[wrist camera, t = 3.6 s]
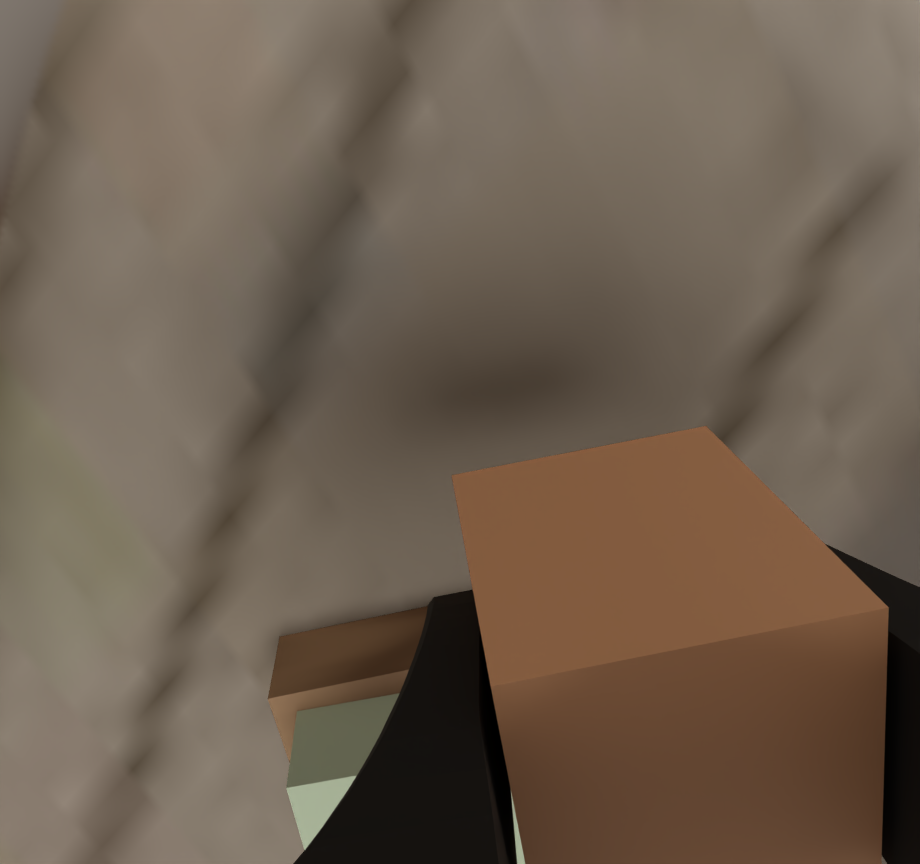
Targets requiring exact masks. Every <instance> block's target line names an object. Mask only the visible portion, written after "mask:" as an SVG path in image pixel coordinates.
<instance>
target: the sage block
mask: <svg viewBox="0 0 920 864" xmlns="http://www.w3.org/2000/svg"><path fill="white" fill-rule="evenodd" d="M398 696H399V693H398V694H392V695H387V696H381V697H375V698H370V699H364V700H358V701H353V702H347V703H341V704H336V705H330V706H324V707H319V708H313V709H307V710H302V711H297V715H296V722H295V729H294V736H293V744H292V751H291V758H290V765H289V773H288V780H287V787H286V789H287V792H288V795H289V799H290V802H291V806H292V809H293V812H294V816H295V819H296V823H297V826H298V830H299V833H300V836H301V840H302V843H303V847H304V850H305V849H306V848H307V847H308V845H309V844H310V843H311V841H312V840H313V839H314V837H315V836H316V835H317V833H318V832H319V831H320V829H321V828H322V827H323V825H324V824H325V822H326V821H327V820H328V818H329V817H330V815H331V814H332V812H333V811H334V809H335V808H336V807H337V805H338V804H339V802H340V801H341V799H342V798H343V796H344V795H345V794H346V792H347V790H348V789H349V787H350V786H351V784H352V782H353V781H354V779H355V778H356V776H357V774H358V773H359V771H360V769H361V768H362V766H363V764H364V763H365V761H366V759H367V758H368V756H369V754H370V752H371V750H372V749H373V747H374V745H375V743H376V741H377V739H378V737H379V735H380V734H381V731H382V729H383V727H384V725H385V723H386V721H387V719H388V717H389V715H390V713H391V711H392V708H393V706H394V704H395V702H396V700H397V698H398ZM511 797H512V793H511ZM512 809H513V820H514V832H515V843H516V855H517V864H525V860H524V855H523V849H522V844H521V839H520V834H519V829H518V824H517V819H516V814H515V808H514V803H513V798H512Z"/></svg>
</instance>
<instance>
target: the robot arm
mask: <svg viewBox="0 0 920 864" xmlns="http://www.w3.org/2000/svg"><path fill="white" fill-rule="evenodd" d="M825 545H826V544H825ZM826 546H827V547H828V548H829V549H830V550H831V551H832V552H833V553H834V554H835V555H836V556H837V557H838V558H839V559H840V560H841V561H842V562H843V563H844V564H845V565H846V566H847V567H848V568H849V569H850V570H851V571H852V572H853V573H854V574H855V575H856V576H857V577H858V578H859V579H860V580H861V581H862V582H863V583H864V584H865V585H866V586H868V587H869V588H870V589H871V590H872V591H873V592H874V593H875V594H876V595H877V596H878V597H879V598H880V599H881V600H882V601H883V602H884V603H885V604H886V605H887V606H888V607H889V613H888V648H887V683H886V718H885V753H884V788H883V823H882V856H883V857H884V859H885V861H886V862H887V864H920V587H918V586H915V585H913V584H911V583H908V582H906V581H904V580H902V579H899V578H897V577H895V576H893V575H891V574H888V573H886V572H884V571H882V570H880V569H878V568H875V567H873V566H871V565H869V564H867V563H865V562H862V561H860V560H858V559H856V558H854V557H852V556H850V555H848V554H845V553H843V552H841V551H839V550H837V549H835V548H833V547H831V546H828V545H826ZM294 864H517V855H516V843H515V832H514V820H513V809H512V797H511V788H510V783H509V778H508V772H507V767H506V762H505V757H504V752H503V747H502V742H501V737H500V731H499V726H498V721H497V716H496V711H495V706H494V701H493V696H492V690H491V685H490V680H489V674H488V669H487V664H486V658H485V653H484V647H483V642H482V637H481V631H480V626H479V620H478V615H477V610H476V604H475V599H474V593H473V590H469V591H464V592H458V593H453V594H448V595H443V596H438V597H434V598H433V599H432V601H431V602H430V603H429V605H428V607H427V614H426V618H425V623H424V627H423V630H422V634H421V637H420V640H419V643H418V646H417V649H416V652H415V655H414V658H413V661H412V663H411V666H410V668H409V671H408V674H407V676H406V679H405V681H404V684H403V686H402V689H401V691H400V693H399V696H398V698H397V700H396V702H395V704H394V706H393V708H392V711H391V713H390V715H389V717H388V719H387V721H386V723H385V725H384V727H383V729H382V731H381V734H380V735H379V737H378V739H377V741H376V743H375V745H374V747H373V749H372V750H371V752H370V754H369V756H368V758H367V759H366V761H365V763H364V764H363V766H362V768H361V769H360V771H359V773H358V774H357V776H356V778H355V779H354V781H353V782H352V784H351V786H350V787H349V789H348V790H347V792H346V794H345V795H344V796H343V798H342V799H341V801H340V802H339V804H338V805H337V807H336V808H335V809H334V811H333V812H332V814H331V815H330V817H329V818H328V820H327V821H326V822H325V824H324V825H323V827H322V828H321V829H320V831H319V832H318V833H317V835H316V836H315V837H314V839H313V840H312V841H311V843H310V844H309V845H308V847H307V848H306V849H305V850H304V852H303V853H302V854H301V855H300V856H299V858H298V859H297V860H296V861H295V862H294Z"/></svg>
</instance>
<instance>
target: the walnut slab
mask: <svg viewBox="0 0 920 864" xmlns="http://www.w3.org/2000/svg"><path fill="white" fill-rule="evenodd" d="M427 607H428V606H426V607H421V608H416V609H411V610H407V611H402V612H397V613H392V614H387V615H382V616H378V617H373V618H368V619H363V620H358V621H353V622H349V623H344V624H339V625H334V626H329V627H324V628H320V629H315V630H310V631H305V632H300V633H295V634H291V635H286V636H281V637H280V638H279V643H278V649H277V654H276V659H275V664H274V669H273V675H272V680H271V685H270V690H269V696H268V701H269V704H270V707H271V710H272V712H273V715H274V718H275V721H276V724H277V727H278V730H279V733H280V736H281V739H282V742H283V745H284V748H285V751H286V753H287V756H288V759H289V762H290V758H291V751H292V744H293V736H294V729H295V722H296V715H297V711H302V710H307V709H313V708H319V707H324V706H330V705H336V704H341V703H347V702H353V701H358V700H364V699H370V698H375V697H381V696H387V695H392V694H398V693H400V691H401V689H402V686H403V684H404V681H405V679H406V676H407V674H408V671H409V668H410V666H411V663H412V661H413V658H414V655H415V652H416V649H417V646H418V643H419V640H420V637H421V634H422V630H423V627H424V623H425V618H426V614H427Z"/></svg>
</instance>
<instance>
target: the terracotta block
mask: <svg viewBox="0 0 920 864" xmlns="http://www.w3.org/2000/svg"><path fill="white" fill-rule="evenodd" d="M452 480H453V486H454V491H455V496H456V502H457V507H458V513H459V518H460V523H461V529H462V534H463V540H464V545H465V550H466V556H467V561H468V566H469V572H470V577H471V583H472V588H473V593H474V599H475V604H476V610H477V615H478V620H479V626H480V631H481V637H482V642H483V647H484V653H485V658H486V664H487V669H488V674H489V680H490V685H491V690H492V696H493V701H494V706H495V711H496V716H497V721H498V726H499V731H500V737H501V742H502V747H503V752H504V757H505V762H506V767H507V772H508V778H509V783H510V788H511V793H512V798H513V803H514V808H515V814H516V819H517V824H518V829H519V834H520V839H521V844H522V849H523V855H524V860H525V864H881V858H882V823H883V788H884V753H885V718H886V683H887V648H888V613H889V607H888V606H887V605H886V604H885V603H884V602H883V601H882V600H881V599H880V598H879V597H878V596H877V595H876V594H875V593H874V592H873V591H872V590H871V589H870V588H869V587H868V586H866V585H865V584H864V583H863V582H862V581H861V580H860V579H859V578H858V577H857V576H856V575H855V574H854V573H853V572H852V571H851V570H850V569H849V568H848V567H847V566H846V565H845V564H844V563H843V562H842V561H841V560H840V559H839V558H838V557H837V556H836V555H835V554H834V553H833V552H832V551H831V550H830V549H829V548H828V547H827V546H826V545H825V544H824V543H823V542H822V541H821V540H820V539H819V538H818V537H817V536H816V535H815V534H814V533H813V532H812V531H811V530H810V529H809V528H808V527H807V526H806V525H805V524H804V523H803V522H802V521H801V520H800V519H799V518H798V517H797V516H796V515H795V514H794V513H793V512H792V511H791V510H790V509H789V508H788V507H787V506H786V505H785V504H784V503H783V502H782V501H781V500H780V499H779V498H778V497H777V496H776V495H775V494H774V493H773V492H772V491H771V490H770V489H769V488H768V487H767V486H766V485H765V484H764V483H763V482H762V481H761V480H760V479H759V478H758V477H757V476H756V475H755V474H754V473H753V472H752V471H751V470H750V469H749V468H748V467H747V466H746V465H745V464H744V463H743V462H742V461H741V460H740V459H739V458H738V457H737V456H736V455H735V454H734V453H733V452H732V451H731V450H730V449H729V448H728V447H727V446H726V445H725V444H724V443H723V442H722V441H721V440H720V439H719V438H718V437H717V436H716V435H715V434H714V433H713V432H712V431H711V430H710V429H709V428H708V427H707V426H703V427H698V428H693V429H688V430H683V431H677V432H672V433H667V434H662V435H657V436H652V437H646V438H641V439H636V440H631V441H626V442H621V443H615V444H610V445H605V446H600V447H595V448H590V449H584V450H579V451H574V452H569V453H564V454H559V455H553V456H548V457H543V458H538V459H533V460H528V461H522V462H517V463H512V464H507V465H502V466H497V467H491V468H486V469H481V470H476V471H471V472H466V473H460V474H455V475H452Z"/></svg>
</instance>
